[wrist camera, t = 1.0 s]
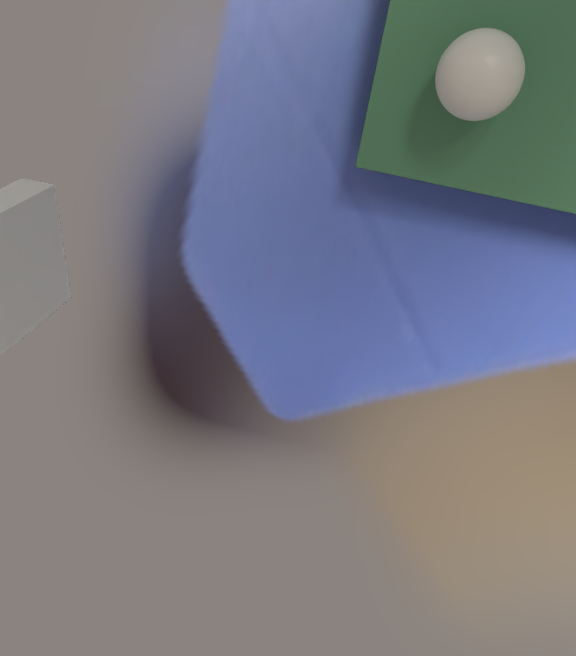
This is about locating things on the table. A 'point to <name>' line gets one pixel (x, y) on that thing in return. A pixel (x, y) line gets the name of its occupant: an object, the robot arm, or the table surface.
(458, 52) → the ball
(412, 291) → the table surface
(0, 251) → the robot arm
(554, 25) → the green
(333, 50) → the table surface
